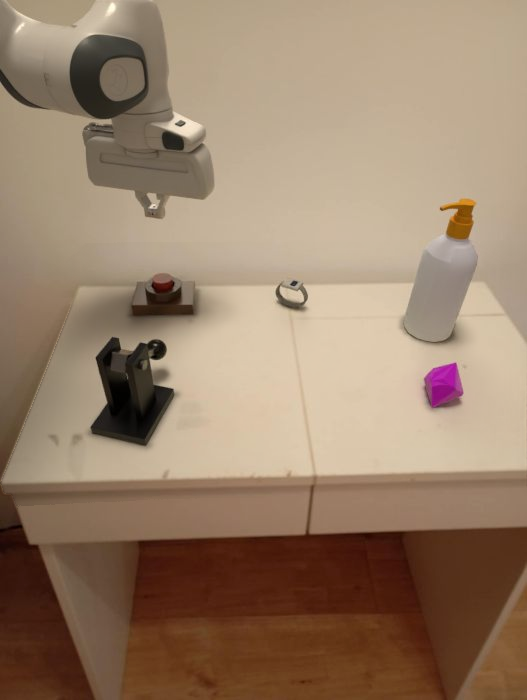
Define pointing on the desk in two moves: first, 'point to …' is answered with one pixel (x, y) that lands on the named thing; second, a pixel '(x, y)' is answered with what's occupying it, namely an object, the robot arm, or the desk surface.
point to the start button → (162, 282)
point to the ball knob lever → (120, 357)
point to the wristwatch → (293, 286)
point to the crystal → (443, 384)
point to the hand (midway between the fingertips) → (155, 216)
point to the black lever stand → (130, 396)
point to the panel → (164, 299)
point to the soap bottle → (443, 278)
